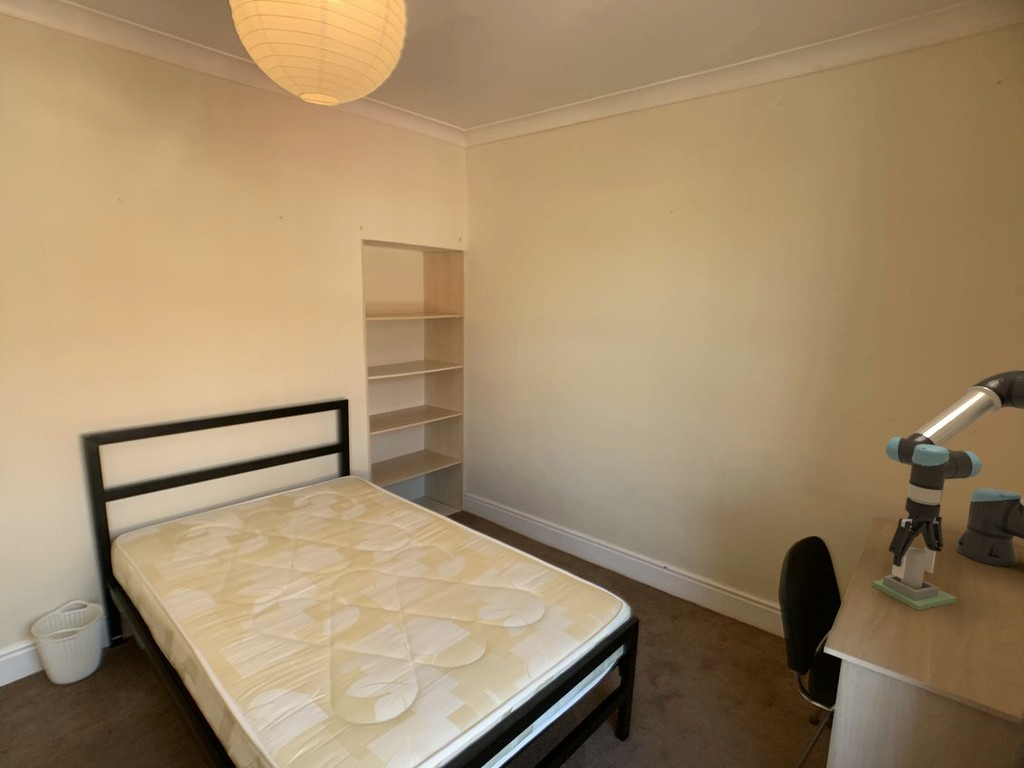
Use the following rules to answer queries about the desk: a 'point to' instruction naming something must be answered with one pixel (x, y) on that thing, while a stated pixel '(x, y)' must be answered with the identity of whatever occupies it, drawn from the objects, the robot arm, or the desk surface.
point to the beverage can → (914, 568)
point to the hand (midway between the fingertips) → (912, 573)
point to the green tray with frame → (914, 593)
